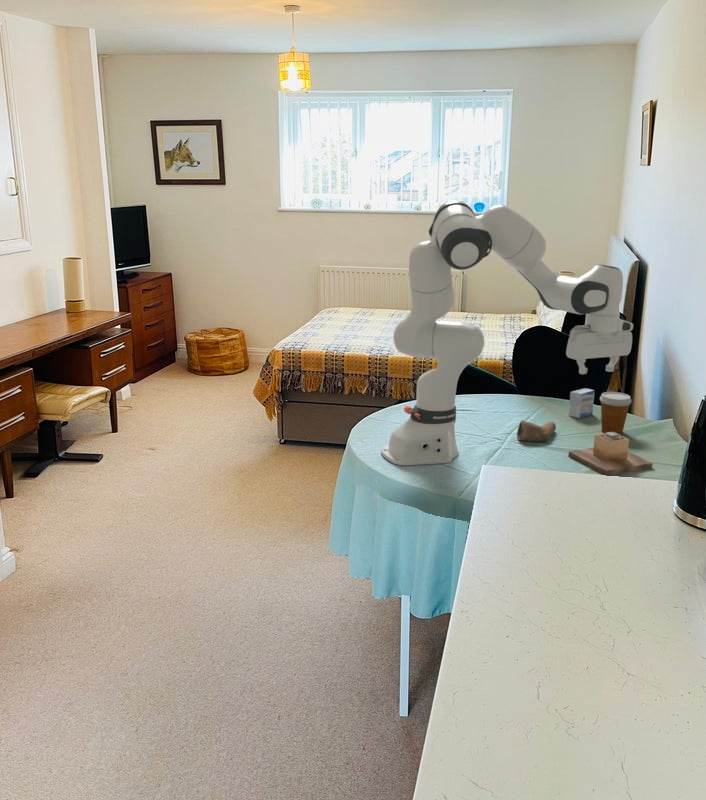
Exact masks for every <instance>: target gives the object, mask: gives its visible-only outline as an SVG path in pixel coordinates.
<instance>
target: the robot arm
mask: <svg viewBox="0 0 706 800" xmlns="http://www.w3.org/2000/svg"><path fill="white" fill-rule="evenodd" d="M428 235H429V236H430V238H429V239H428V240H425V241H422V242H419V243H417V244H415V245H414V246H413V248H412V249H411V251H410V254H409V262H408V264H409V265H408V276H409V285H410V293H411V310H410V313H409V314H408V316H406V317H405V318H404V319H402V320H401V321H400V322H398V323H397V325H396V327H395V328H394V329H395V330H394V332H393V343H394V347H395V349H396V350H397V351H398V352H399V353H401V354H404V355H405V356H409V357H413V358H422V359H431V360H437V367H435V368H433V369H430V370H428V371H426V372H424V373H422V374H421V375H420V376H418V379H417V381H416V401H415V402H416V403H415V404H414V406H413V408H412V407H410V406H409V405H406V406H404V408H403V411H404V412H405V413H406V414H407V415H410V418H408V419H407V420H406V421H404V422H403V423H402V424H401V425H399V427H397V428H395V429H394V430H393V431H392V432H391V434H390V437H389V442H388V443H389V444H388V445H386V446H383V447H381V451H380V452H381V455H382V456H383V458H384V459H386V460H387V461H389V462H391V463H392V464H395V465H399V466H417V465H435V464H451V463H452V462H453V459H454V458H456V457H457V456H458V455H459V451H458V450H459V449H458V446H457V439H456V430H455V429H456V428H455V424H456V420H457V419H456V418H457V405H456V394H457V386H458V381H459V377H460V375H461V374H462V372H463V370H465V368H466V367H467V366H468V365H469V364H471V363H472V362H474V361H475V360H477V358H479V357H480V355H481V354H482V352H483V350H484V347H485V338H484V337H485V336H484V333H483V331H482V330H481V329H480V327H479V326H477V325H474V324H470V323H467V322H464V321H452V320H443V319H442V320H441V319H440V318H442V317H444V316H446V315H447V314H448V313H449V312H450V311H451V310H452V309H453V306H454V304H455V296H454V286H453V276H452V268H453V269H455V270H459V271H460V270H461V271H465V270H469V269H471V268H473V267H474V266H476V265H478V264H479V263H480V262H481V261H482V260H483V259H484V258H486V257H488V256H489V255H490V253H491V251H493V252H494V253H495V254H496V255H498V256H499V257H500V258H501V259H502V260H503V261H505V262H506V263H507V264H508V265H510V266H511V267H513V268H514V269H515V270H516V271H517V272H518V273H519V274H520V275H521V276H522V277H523V278H524V279H525V280H526V281H527V282H528V283H529V284H530V285H531V286H532V287H533V288H534V289H535V291H536V292H537V294H538V296H539V298H540V301H541V302H542V304H543V305H544V307H546V308H548V309H550V310H555V311H563V312H567V313H570V314H576V315H585V322H584V325H580V324H579V325H575V326H574V327H573V328H571V330H570V331H569V337H568V340H567V344H566V350H565V355H566V357H567V358H569V359H572V360H575V361H576V364H577V365H578V373H579V375H587V374H588V367H586V365H585V363H586V362H587V361H586V360H587V359H588V360H589V359H598V358H599V359H600V358H609V359H610V360H609V362H608V364H606V365H605V372H609V373H610V372H614V371H615V366H616V364H617V363H618V361H619V358H620V357H621V356H623V357H624V356H628V355H629V354H630V353H631V350H632V345H633V333H632V332H631V331H633V329H634V323H632V322H629V321H627V320H624V319H622V318H620V314H621V312H620V304H621V302H622V298H623V289H624V288H623V287H624V277H623V276H624V274H623V272H622V270H621V269H620V268H619V267H617V266H612V265H606V264H595V265H594V266H593V267H592V269H590V270H589V271H587V273H585V274H582V275H581V276H578V277H577V276H572V275H566V274H563V273H560V272H559V273H558V272H554V271H553V270H551V269H550V268H549V267H548V266H547V265H546V263H545V262H544V261H542V259H543V257H544V255H545V253H546V248H547V242H546V239H545V238H544V236H543V234H542V233H541V232H540V231H539V229H538V228H537V227H536V226H534V224H533V223H531V222H530V221H529V220H528V219H526V218H525V217H524V216H522V214H521V213H518V212H517V211H516V210H513V209H512V208H511V207H508V206H506V205H504V204H497V205H492V206H491V207H488V209H486V211H485V212H483V213H482V214H481V215H475V213H474V211H473V209H472V208H471V206H469V205H468V204H466V203H465V202H463V201H461V200H455V199H454V200H448V201H447V202H444V203H443V204H442V205H440V206H439V207H438V209H437V211H436V213H435V216H434V218H433V221H432V224H431V226H430V227H429V230H428Z"/></svg>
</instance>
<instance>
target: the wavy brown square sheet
mask: <svg viewBox="0 0 706 800" xmlns="http://www.w3.org/2000/svg"><path fill="white" fill-rule="evenodd" d="M619 435H620V434H617V433H615V432H608V433H606V435H605V436H603V438H606V439H608V440H610V441H614V440H621V439H622V438H620V437H619ZM593 449H594V447H589V448H582V449H575V450H569V451H568V454H567V455H568V457H569V458H571V459H573V460H574V461H577V462H578V463H581V464H582V465H585V466H586V467H589V468H591V469H592V470H595V472H598V473H599V474H601V475H604V476H605V475H608V476H613V475H619V474H624V473H629V472H630V473H631V472H637V471H642V470H648V469H652V468H653V462H652V461H650V460H648V459H646V458H644V457H643V458H642V457H641V456H638V455H637V454H635V453H631V452H630V451H628V454H627V459H626V460H620V461H614V462H607V461H605V460H603V459H601V458H599V457H597V456H595V455H593Z"/></svg>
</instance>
